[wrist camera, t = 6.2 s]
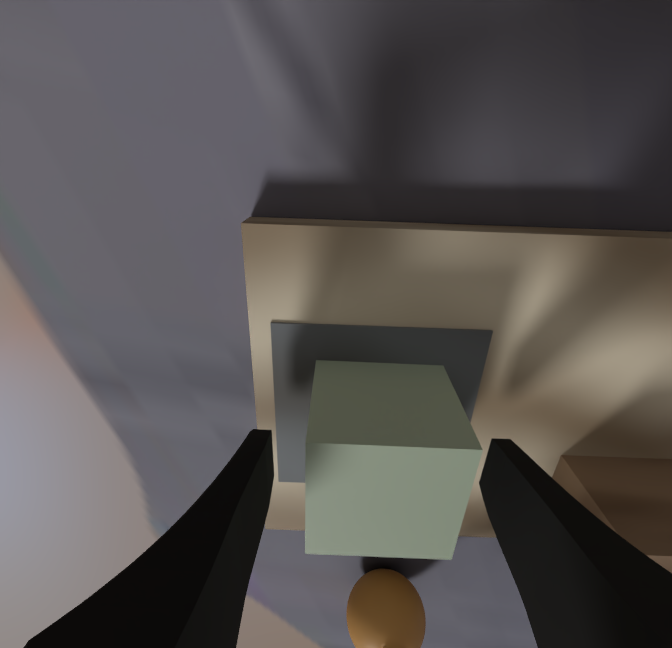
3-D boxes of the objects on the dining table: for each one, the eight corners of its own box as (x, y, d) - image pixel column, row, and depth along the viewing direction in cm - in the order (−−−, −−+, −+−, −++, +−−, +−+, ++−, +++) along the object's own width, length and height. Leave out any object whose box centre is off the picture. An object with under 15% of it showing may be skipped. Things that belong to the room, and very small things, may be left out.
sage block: (424, 459, 15) (451, 559, 11) (314, 454, 15) (305, 553, 11) (443, 365, 13) (482, 449, 9) (316, 359, 13) (305, 442, 9)
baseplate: (631, 519, 18) (651, 545, 17) (270, 506, 18) (265, 530, 17) (795, 236, 12) (845, 245, 11) (250, 216, 12) (240, 223, 11)
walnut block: (629, 531, 17) (710, 638, 13) (531, 527, 17) (584, 633, 13) (672, 459, 15) (780, 560, 11) (561, 454, 15) (632, 554, 11)
